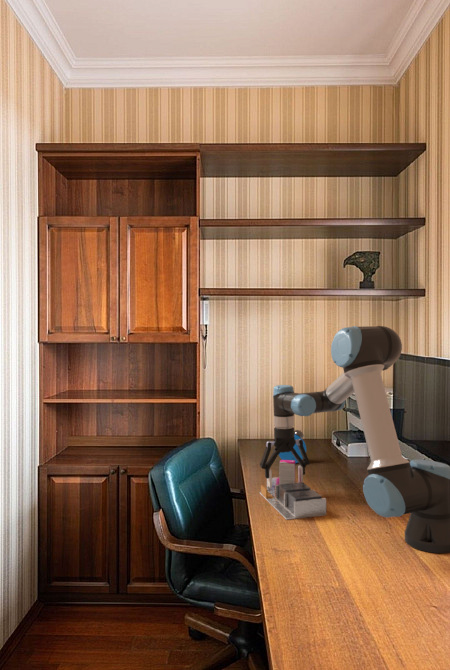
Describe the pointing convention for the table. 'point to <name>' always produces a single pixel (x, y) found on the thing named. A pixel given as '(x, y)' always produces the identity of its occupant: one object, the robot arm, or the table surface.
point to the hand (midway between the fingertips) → (285, 485)
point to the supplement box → (286, 471)
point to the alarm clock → (289, 455)
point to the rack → (294, 500)
